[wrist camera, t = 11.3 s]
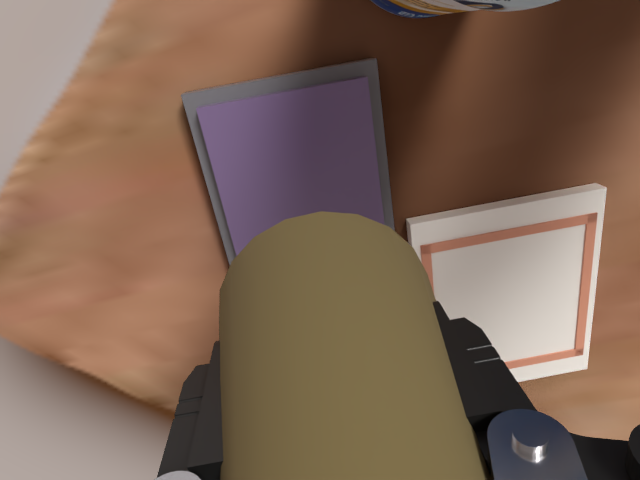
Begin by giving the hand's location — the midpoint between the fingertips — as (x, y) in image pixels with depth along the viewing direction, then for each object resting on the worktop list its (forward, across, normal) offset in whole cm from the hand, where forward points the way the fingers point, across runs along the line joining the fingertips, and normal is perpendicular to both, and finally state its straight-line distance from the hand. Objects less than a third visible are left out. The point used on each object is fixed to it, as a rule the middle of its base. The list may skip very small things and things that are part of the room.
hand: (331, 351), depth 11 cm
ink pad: (+16, 0, 0) cm, 16 cm away
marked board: (+16, -12, +11) cm, 23 cm away
